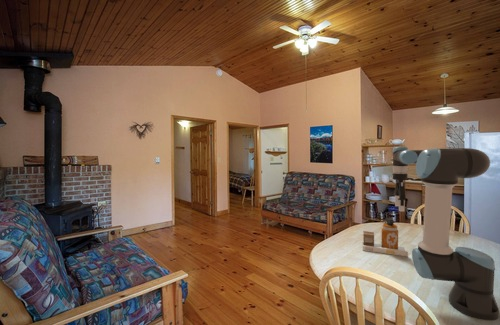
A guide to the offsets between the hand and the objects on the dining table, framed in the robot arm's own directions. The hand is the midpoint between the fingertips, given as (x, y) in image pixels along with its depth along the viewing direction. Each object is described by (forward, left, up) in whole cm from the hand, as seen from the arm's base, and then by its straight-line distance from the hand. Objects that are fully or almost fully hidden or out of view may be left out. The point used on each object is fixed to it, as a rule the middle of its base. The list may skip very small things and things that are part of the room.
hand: (399, 208), depth 146 cm
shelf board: (+5, +8, -29) cm, 30 cm away
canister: (+5, +5, -28) cm, 28 cm away
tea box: (+5, +16, -27) cm, 32 cm away
